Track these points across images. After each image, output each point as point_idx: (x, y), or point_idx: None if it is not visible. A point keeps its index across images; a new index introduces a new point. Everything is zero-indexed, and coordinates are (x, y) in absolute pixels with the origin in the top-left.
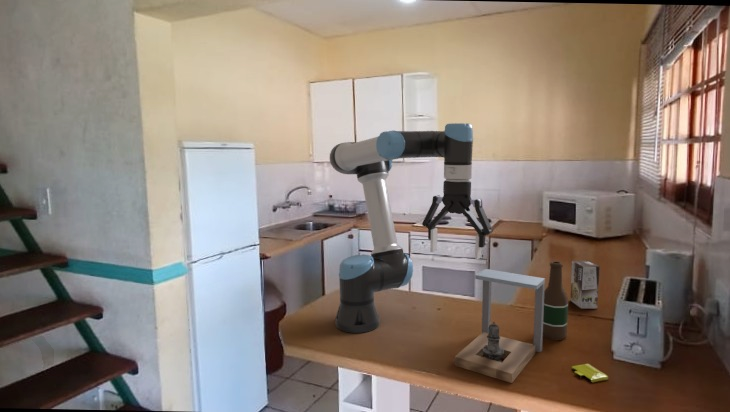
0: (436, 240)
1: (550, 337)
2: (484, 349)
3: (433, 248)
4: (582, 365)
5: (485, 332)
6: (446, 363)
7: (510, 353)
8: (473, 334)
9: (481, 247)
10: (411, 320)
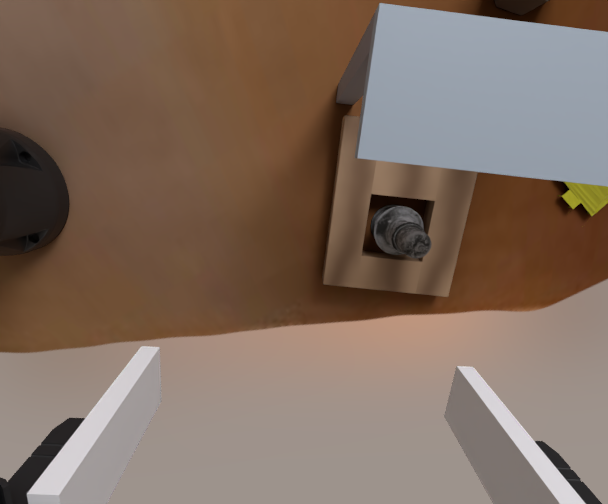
0: (127, 407)
1: (516, 12)
2: (380, 240)
3: (152, 408)
4: None
5: (348, 101)
6: (303, 277)
7: (433, 210)
8: (310, 94)
9: (511, 416)
10: (114, 86)
